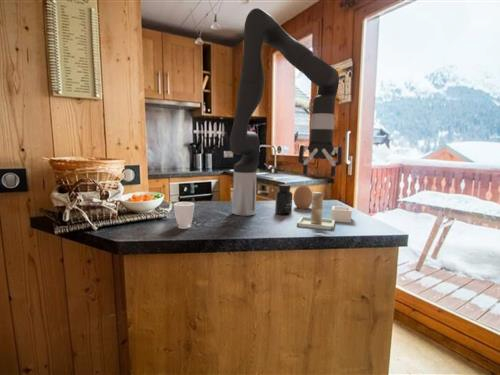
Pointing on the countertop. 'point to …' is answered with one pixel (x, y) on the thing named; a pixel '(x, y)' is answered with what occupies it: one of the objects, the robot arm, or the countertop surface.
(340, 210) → the holder cup
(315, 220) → the dowel
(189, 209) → the cup
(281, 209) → the supplement bottle
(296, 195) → the egg
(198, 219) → the countertop surface
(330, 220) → the tray
